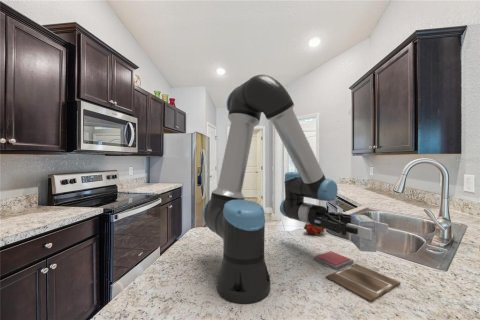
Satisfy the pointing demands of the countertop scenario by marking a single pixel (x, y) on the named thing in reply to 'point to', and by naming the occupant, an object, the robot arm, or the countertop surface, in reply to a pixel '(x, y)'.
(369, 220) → the medicine box
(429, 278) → the countertop surface
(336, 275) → the cutting board
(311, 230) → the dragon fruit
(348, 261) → the ink pad
